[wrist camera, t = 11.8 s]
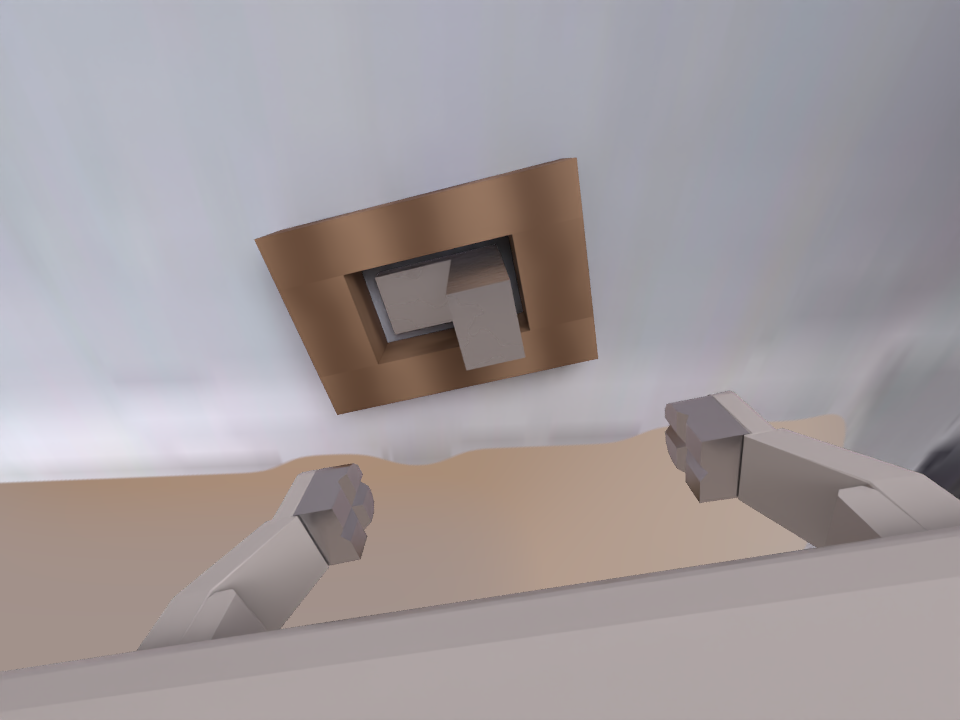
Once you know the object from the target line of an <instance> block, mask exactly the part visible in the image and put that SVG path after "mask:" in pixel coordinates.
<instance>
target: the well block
mask: <svg viewBox="0 0 960 720" xmlns="http://www.w3.org/2000/svg"><path fill="white" fill-rule="evenodd" d="M506 235H508V236H509V241H510V246H511V252H512V257H513V262H514V267H515V273H516V278H517V283H518V288H519V293H520V299H521V304H522V309H523V312H521V313H517V318H518V323H519V328H520V333H521V338H522V343H523V348H524V353H525V358H521V359H517V360H512V361H507V362H503V363H498V364H494V365H489V366H485V367H480V368H475V369H471V370H466V367H465V363H464V360H463V356H462V353H461V349H460V345H459V342H458V338H457V335H456V331H455V328H451V329H446V330H442V331H438V332H433V333H429V334H424V335H420V336H416V337H411V338H407V339H402V340H398V341H394V342H389V343H388V342H387V339H386V336H385V334H384V331H383V328H382V326H381V323H380V320H379V317H378V315H377V312H376V309H375V307H374V304H373V301H372V298H371V296H370V293H369V290H368V287H367V285H366V282H365V279H364V277H363V274H362V270H367V269H371V268H375V267H379V266H383V265H387V264H391V263H395V262H399V261H404V260H408V259H412V258H416V257H420V256H424V255H428V254H432V253H436V252H441V251H445V250H449V249H453V248H457V247H461V246H465V245H469V244H474V243H478V242H482V241H486V240H490V239H494V238H498V237H502V236H506ZM255 242H256V244H257V246H258V248H259V250H260V252H261V255H262V257H263V259H264V261H265V263H266V265H267V267H268V269H269V272H270V274H271V276H272V278H273V280H274V282H275V284H276V286H277V288H278V291H279V293H280V295H281V297H282V299H283V301H284V303H285V305H286V307H287V310H288V312H289V314H290V316H291V318H292V320H293V322H294V324H295V326H296V329H297V331H298V333H299V335H300V337H301V339H302V341H303V343H304V346H305V348H306V350H307V352H308V354H309V356H310V358H311V360H312V362H313V365H314V367H315V369H316V371H317V373H318V375H319V377H320V379H321V381H322V384H323V386H324V388H325V390H326V392H327V394H328V396H329V398H330V400H331V403H332V405H333V407H334V409H335V411H336V413H337V415H339V414H344V413H348V412H353V411H358V410H362V409H367V408H372V407H376V406H381V405H386V404H390V403H395V402H399V401H404V400H409V399H413V398H418V397H423V396H427V395H432V394H436V393H441V392H446V391H450V390H455V389H460V388H464V387H469V386H473V385H478V384H483V383H487V382H492V381H497V380H501V379H506V378H510V377H515V376H520V375H524V374H529V373H534V372H538V371H543V370H547V369H552V368H557V367H561V366H566V365H571V364H575V363H580V362H584V361H589V360H594V359H598V353H597V344H596V334H595V325H594V316H593V306H592V297H591V288H590V278H589V269H588V260H587V250H586V241H585V232H584V222H583V213H582V204H581V195H580V185H579V176H578V167H577V158H564V159H559V160H555V161H551V162H547V163H543V164H539V165H535V166H531V167H527V168H523V169H519V170H515V171H512V172H508V173H504V174H500V175H496V176H492V177H488V178H484V179H480V180H476V181H472V182H468V183H464V184H460V185H457V186H453V187H449V188H445V189H441V190H437V191H433V192H429V193H425V194H421V195H417V196H413V197H409V198H406V199H402V200H398V201H394V202H390V203H386V204H382V205H378V206H374V207H370V208H366V209H362V210H358V211H354V212H351V213H347V214H343V215H339V216H335V217H331V218H327V219H323V220H319V221H315V222H311V223H307V224H303V225H300V226H296V227H292V228H288V229H284V230H280V231H277V232H274V233H272V234H269V235H266V236H263V237H260V238H257V239H255Z"/></svg>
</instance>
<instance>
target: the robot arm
mask: <svg viewBox="0 0 960 720" xmlns="http://www.w3.org/2000/svg"><path fill="white" fill-rule="evenodd" d="M665 418H666V419H667V421H668V422H669V424H670V426H669V427H668V429H667V430H666V432H665V434H666V444H667V448H668V452H669V455H670V457H671V459H672V461H673V463H674V464H675V466H676V468H677V469H679V470H681V471H683V472H685V473H686V483H687V484H688V486H689V488H690V489H691V491H692V492H693V493H694V495H695V497H696V498H697V499H698V501H699V503H702V502H708V501H716V500H724V499H730V498H738V499H739V500H740V501H742V502H743V503H745V504H747V505H748V506H750V507H752V508H753V509H755V510H756V511H758V512H760V513H761V514H763V515H765V516H766V517H768V518H770V519H771V520H773V521H775V522H776V523H778V524H779V525H781V526H783V527H784V528H786V529H787V530H789V531H791V532H793V533H794V534H796V535H797V536H799V537H801V538H802V539H804V540H805V541H807V542H809V543H810V544H812V545H813V546H815V547H817V548H811V549H804V550H798V551H791V552H785V553H778V554H772V555H765V556H758V557H753V558H745V559H739V560H732V561H726V562H719V563H712V564H706V565H699V566H693V567H686V568H679V569H673V570H666V571H660V572H653V573H647V574H640V575H633V576H627V577H620V578H614V579H607V580H601V581H594V582H587V583H581V584H575V585H568V586H561V587H555V588H548V589H541V590H535V591H528V592H522V593H515V594H509V595H502V596H495V597H489V598H482V599H475V600H469V601H463V602H456V603H450V604H443V605H436V606H430V607H423V608H417V609H410V610H403V611H397V612H390V613H383V614H377V615H370V616H364V617H358V618H351V619H344V620H338V621H331V622H325V623H318V624H311V625H305V626H298V627H291V628H285V629H281V627H282V626H283V625H284V623H285V622H286V621H287V620H288V618H289V617H290V616H291V615H292V613H293V612H294V611H295V610H296V608H297V607H298V606H299V605H300V603H301V602H302V601H303V600H304V598H305V597H306V596H307V594H308V593H309V592H310V591H311V589H312V588H313V587H314V586H315V584H316V583H317V582H318V581H319V579H320V578H321V577H322V575H323V574H324V573H325V572H326V571H327V569H328V568H329V565H334V564H339V563H344V562H349V561H354V560H359V559H361V556H362V552H363V549H364V545H365V542H366V538H367V535H366V533H365V531H364V529H365V528H366V527H367V526H368V525H369V524H370V523H371V521H372V518H373V514H374V500H373V496H372V493H371V490H370V488H369V486H367V485H366V484H364V483H362V482H361V478H362V475H363V474H362V472H361V470H360V468H359V466H358V465H356V464H347V465H341V466H335V467H329V468H323V469H319V470H313V471H307V472H302V473H301V474H299V475H297V477H296V479H295V481H294V483H293V484H292V486H291V488H290V489H289V491H288V493H287V495H286V496H285V498H284V500H283V502H282V503H281V505H280V507H279V509H278V510H277V512H276V514H275V516H274V517H273V519H272V520H271V521H266V522H265V523H264V524H262V525H261V526H260V527H259V528H258V529H256V530H255V531H254V532H253V533H251V534H250V535H249V536H248V537H247V538H245V539H244V540H243V541H242V542H240V543H239V544H238V545H237V546H236V547H234V548H233V549H232V550H231V551H229V552H228V553H227V554H226V555H224V556H223V557H222V558H221V559H220V560H218V561H217V562H216V563H215V564H213V565H212V566H211V567H210V568H209V569H207V570H206V571H205V572H204V573H202V575H200V576H199V577H198V578H196V579H195V580H194V581H193V582H192V583H190V584H189V585H188V586H187V587H185V588H184V589H183V590H182V591H180V592H179V593H178V594H177V595H176V596H174V597H173V599H172V600H171V602H170V603H169V604H168V606H167V607H166V609H165V610H164V612H163V613H162V614H161V616H160V617H159V619H158V620H157V622H156V623H155V625H154V626H153V627H152V629H151V630H150V632H149V633H148V635H147V636H146V638H145V639H144V640H143V642H142V643H141V645H140V646H139V648H138V649H137V651H134V652H127V653H122V654H115V655H108V656H101V657H95V658H88V659H82V660H75V661H68V662H62V663H56V664H49V665H42V666H36V667H30V668H22V669H16V670H9V671H2V672H0V720H960V500H959V499H957V498H956V497H954V496H953V495H952V494H950V493H949V492H947V491H946V490H945V489H943V488H942V487H940V486H939V485H937V484H936V483H935V482H933V481H932V480H930V479H929V478H928V477H926V476H925V475H923V474H920V473H917V472H914V471H911V470H908V469H905V468H902V467H899V466H896V465H893V464H890V463H887V462H884V461H881V460H878V459H875V458H872V457H869V456H866V455H863V454H860V453H857V452H854V451H851V450H848V449H845V448H842V447H839V446H835V445H832V444H829V443H826V442H823V441H820V440H817V439H814V438H811V437H808V436H805V435H802V434H799V433H796V432H793V431H790V430H787V429H784V428H782V429H775V428H774V427H773V426H772V425H771V424H769V423H768V422H767V421H766V420H765V419H764V418H763V417H762V416H760V415H759V414H758V413H757V412H756V411H755V410H754V409H753V408H751V407H750V406H749V405H748V404H747V403H746V402H745V401H744V400H742V399H741V398H740V397H739V396H738V395H737V394H736V393H734V392H732V391H725V392H720V393H716V394H711V395H708V396H705V397H699V398H694V399H689V400H684V401H679V402H674V403H669V404H666V408H665Z"/></svg>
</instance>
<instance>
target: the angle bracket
mask: <svg viewBox="0 0 960 720" xmlns="http://www.w3.org/2000/svg"><path fill="white" fill-rule="evenodd" d="M375 280H376V283H377V286H378V288H379V291H380V294H381V297H382V300H383V302H384V305H385V308H386V311H387V314H388V316H389V319H390V322H391V325H392V328H393V331H394V333H395V334H399V333H404V332H408V331H412V330H417V329H421V328H425V327H430V326H434V325H439V324H443V323H447V322H452V321H453V324H454V327H455V331H456V335H457V338H458V342H459V345H460V349H461V353H462V356H463V360H464V363H465V367H466V370H471V369H475V368H480V367H485V366H489V365H494V364H498V363H503V362H507V361H512V360H517V359H521V358H525V353H524V348H523V343H522V338H521V333H520V328H519V323H518V318H517V313H516V308H515V303H514V298H513V293H512V288H511V283H510V279H509V276H508V273H507V271H506V268H505V265H504V263H503V260H502V258H501V255H500V252H499V250H498V247H497V244H494V245H489V246H485V247H481V248H477V249H473V250H469V251H465V252H461V253H456V254H452V255H448V256H444V257H440V258H436V259H432V260H427V261H423V262H419V263H415V264H411V265H407V266H403V267H399V268H394V269H390V270H386V271H382V272H379V273H378V275H377V276H376V277H375Z"/></svg>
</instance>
